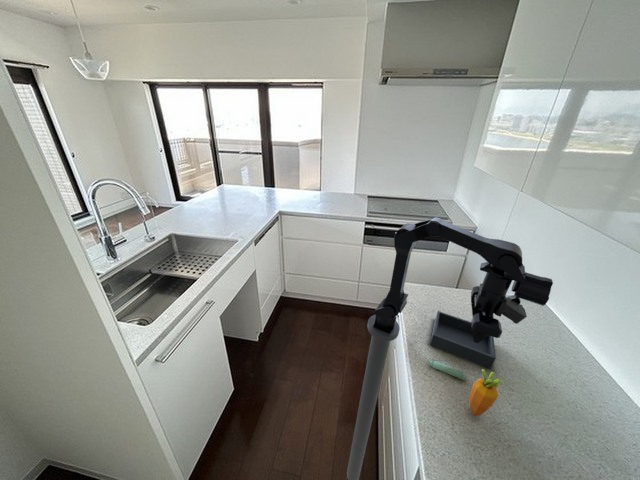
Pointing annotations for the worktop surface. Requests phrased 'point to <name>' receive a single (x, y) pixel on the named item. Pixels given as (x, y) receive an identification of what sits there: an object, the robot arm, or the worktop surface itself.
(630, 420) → the worktop surface
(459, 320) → the bin
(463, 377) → the pale green rod
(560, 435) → the worktop surface
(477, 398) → the carrot
